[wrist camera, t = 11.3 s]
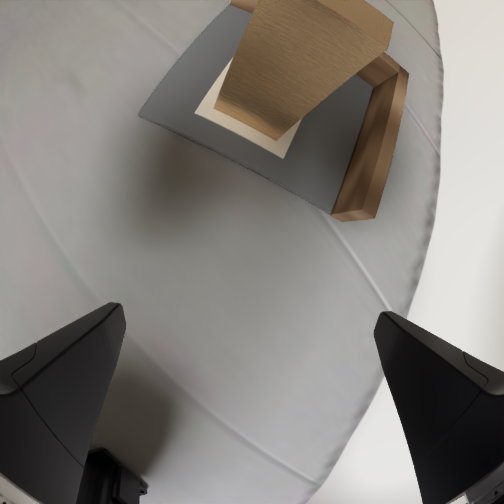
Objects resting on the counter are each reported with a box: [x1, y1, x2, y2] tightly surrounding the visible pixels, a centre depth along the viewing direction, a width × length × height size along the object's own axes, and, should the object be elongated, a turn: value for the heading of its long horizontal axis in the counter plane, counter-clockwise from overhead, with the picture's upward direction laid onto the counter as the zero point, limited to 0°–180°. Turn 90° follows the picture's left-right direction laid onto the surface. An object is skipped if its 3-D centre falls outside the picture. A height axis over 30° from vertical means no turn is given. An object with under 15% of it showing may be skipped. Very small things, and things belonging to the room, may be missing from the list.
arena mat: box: [138, 5, 373, 213], centre depth 19 cm, size 14×16×1 cm
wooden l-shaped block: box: [213, 0, 394, 141], centre depth 13 cm, size 8×5×12 cm, turn 155°
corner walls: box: [230, 0, 409, 222], centre depth 18 cm, size 15×17×4 cm
